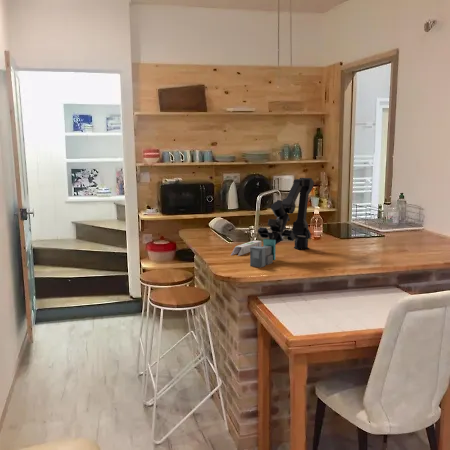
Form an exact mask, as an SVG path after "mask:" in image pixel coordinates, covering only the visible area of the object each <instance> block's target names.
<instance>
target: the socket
mask: <svg viewBox="0 0 450 450" xmlns="http://www.w3.org/2000/svg"><path fill="white" fill-rule="evenodd" d="M249 258H250V259H249V265H250V267H255V268H264V267H266V265H265V247H262V246H261V247H258V246H253V247H250V252H249Z"/></svg>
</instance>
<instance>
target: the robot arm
mask: <svg viewBox="0 0 450 450" xmlns="http://www.w3.org/2000/svg"><path fill="white" fill-rule="evenodd" d="M314 182H315V181H314V180H313V178H311V177H299V178H295V179H293V184H292V186H291V188H290V190H289V191H288V194H287V196H286V197H285V198H283V200H281V199H279V200H278V199H277V200H276V201H275V202H273V203H272V204H271V205H270V209H271V211H272V213H273V215H274V217H275V218H276V219H274V218H268V221H267V226H268V227H269V229H267V227H263V226H262V227H261V226H260V227H258V229H257V233H258V234H259V236H260V238H263V239H272V240H276V245H277V244H279V243H281V242H283V241H284V237H286V239H287V240H288V241H291V242H294V246H293V248H294V249H296V250H299V251H300V250H308V249H309V250H310V247H309V245H308V244H309V239H311V236H312V234H311V231H310V230H309V224H308V222H307V215H308V205H309V195H310V193H311V192H312V191H313V187H314ZM298 197H299V198H298ZM297 198H298V207H297V208H298V209H297V215H296V220H295V221H293V222H292V227H291V229H287V227H286V226H287V224H288V222H289V221H290V220H291V219H290V216H289V215H290V214H293V213H294V212H295V211H296V201H297Z"/></svg>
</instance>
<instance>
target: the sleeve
mask: <svg viewBox="0 0 450 450" xmlns="http://www.w3.org/2000/svg"><path fill="white" fill-rule="evenodd" d="M261 247H265V266H268V265H272V264H273V263H274V262H273V261H274V260H273V255H271V253H272V246H263V245H261Z"/></svg>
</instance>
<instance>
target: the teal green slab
mask: <svg viewBox="0 0 450 450" xmlns="http://www.w3.org/2000/svg"><path fill="white" fill-rule="evenodd" d="M262 241H263V243H262V246H272V253H271V255H273V261H276V245H277V244H276V240H272V239H269V238H263V239H262Z"/></svg>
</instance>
